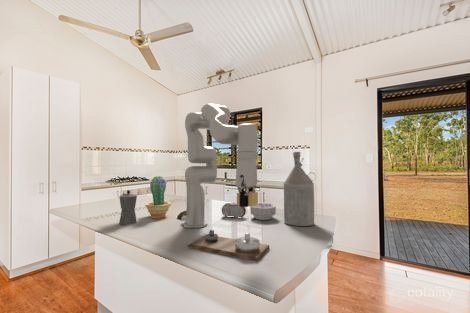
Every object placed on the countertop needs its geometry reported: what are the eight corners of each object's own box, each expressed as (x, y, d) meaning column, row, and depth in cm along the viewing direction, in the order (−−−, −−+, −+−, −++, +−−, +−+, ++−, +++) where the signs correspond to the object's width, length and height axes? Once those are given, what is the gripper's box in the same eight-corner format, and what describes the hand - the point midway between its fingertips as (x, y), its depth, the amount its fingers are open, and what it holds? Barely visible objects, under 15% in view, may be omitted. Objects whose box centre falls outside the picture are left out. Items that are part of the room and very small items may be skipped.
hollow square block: (236, 205, 85) (236, 193, 85) (243, 202, 90) (243, 191, 90) (251, 206, 82) (251, 194, 82) (257, 204, 88) (257, 192, 88)
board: (188, 247, 91) (188, 243, 91) (206, 237, 103) (206, 234, 103) (257, 261, 78) (256, 257, 78) (269, 248, 90) (269, 245, 90)
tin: (246, 217, 141) (246, 203, 141) (244, 219, 138) (244, 204, 138) (222, 216, 145) (222, 202, 145) (220, 217, 142) (221, 203, 142)
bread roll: (189, 214, 149) (189, 207, 149) (202, 217, 141) (202, 209, 141) (173, 218, 139) (173, 210, 139) (186, 222, 131) (186, 213, 132)
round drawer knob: (203, 241, 94) (203, 230, 94) (209, 237, 99) (209, 227, 99) (213, 243, 92) (213, 232, 92) (219, 239, 96) (219, 228, 97)
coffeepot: (141, 223, 126) (141, 190, 127) (123, 227, 120) (123, 192, 120) (131, 218, 138) (131, 188, 138) (113, 221, 131) (114, 189, 131)
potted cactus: (143, 220, 134) (144, 177, 135) (146, 214, 149) (146, 175, 150) (171, 218, 138) (171, 176, 139) (171, 213, 153) (171, 175, 154)
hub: (231, 250, 84) (231, 234, 84) (241, 243, 92) (241, 228, 92) (254, 255, 80) (254, 238, 80) (262, 246, 88) (262, 231, 88)
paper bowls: (247, 220, 134) (247, 206, 134) (253, 214, 149) (253, 202, 149) (274, 222, 130) (274, 208, 130) (277, 216, 144) (277, 203, 144)
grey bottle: (316, 228, 118) (315, 150, 120) (282, 225, 124) (281, 151, 125) (316, 222, 130) (315, 152, 131) (285, 219, 136) (284, 152, 137)
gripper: (247, 157, 96) (247, 201, 96) (227, 156, 81) (227, 208, 80) (264, 157, 93) (264, 202, 92) (247, 156, 77) (247, 210, 77)
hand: (247, 204), depth 86 cm, fingers closed on hollow square block, 5 cm apart
